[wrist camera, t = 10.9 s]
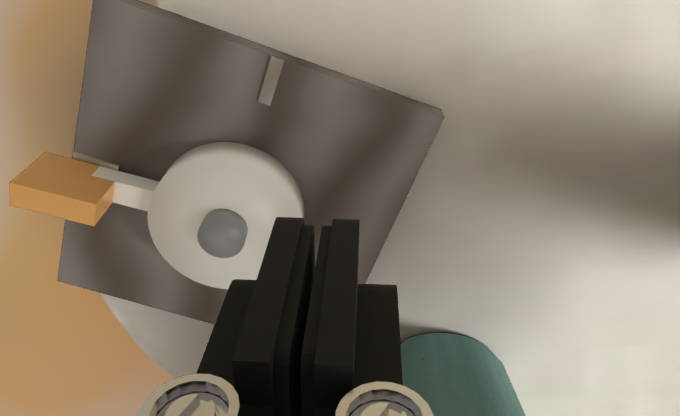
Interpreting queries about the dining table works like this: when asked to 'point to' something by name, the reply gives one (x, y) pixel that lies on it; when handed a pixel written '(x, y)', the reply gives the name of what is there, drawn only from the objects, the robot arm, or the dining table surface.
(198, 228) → the white handled round piece
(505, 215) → the dining table surface
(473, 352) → the flower pot
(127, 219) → the dial board
